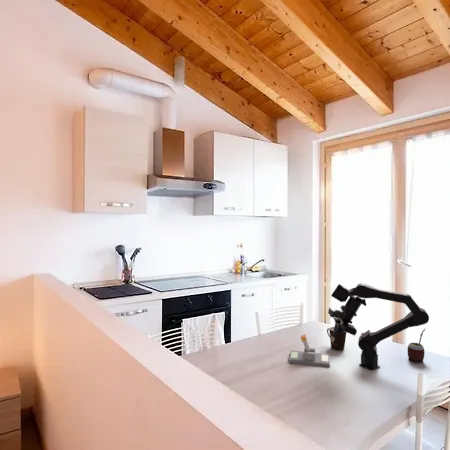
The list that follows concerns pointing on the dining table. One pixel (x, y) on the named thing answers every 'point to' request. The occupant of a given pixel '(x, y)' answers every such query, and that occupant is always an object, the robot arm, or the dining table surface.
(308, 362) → the switch panel
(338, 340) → the coffee mug
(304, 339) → the lever
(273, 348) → the dining table surface
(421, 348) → the mate gourd
